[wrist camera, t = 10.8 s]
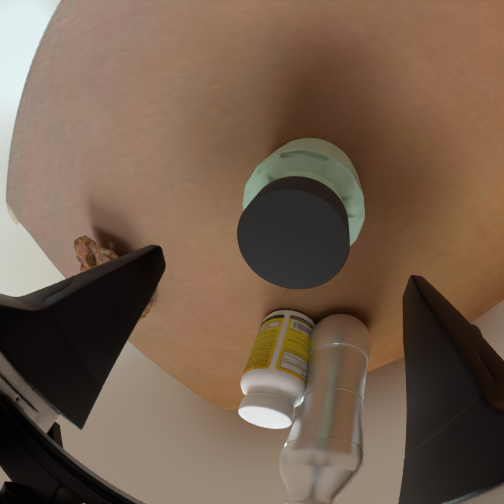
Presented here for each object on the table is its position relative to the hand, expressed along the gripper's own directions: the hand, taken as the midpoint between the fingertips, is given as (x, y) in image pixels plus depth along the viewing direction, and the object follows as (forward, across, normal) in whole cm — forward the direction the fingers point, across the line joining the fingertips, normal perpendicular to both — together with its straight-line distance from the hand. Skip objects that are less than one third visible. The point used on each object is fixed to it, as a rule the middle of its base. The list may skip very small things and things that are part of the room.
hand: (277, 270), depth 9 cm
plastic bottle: (+13, -4, +16) cm, 21 cm away
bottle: (+13, 0, +1) cm, 13 cm away
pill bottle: (+13, +1, +17) cm, 21 cm away
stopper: (+8, 0, +1) cm, 8 cm away
